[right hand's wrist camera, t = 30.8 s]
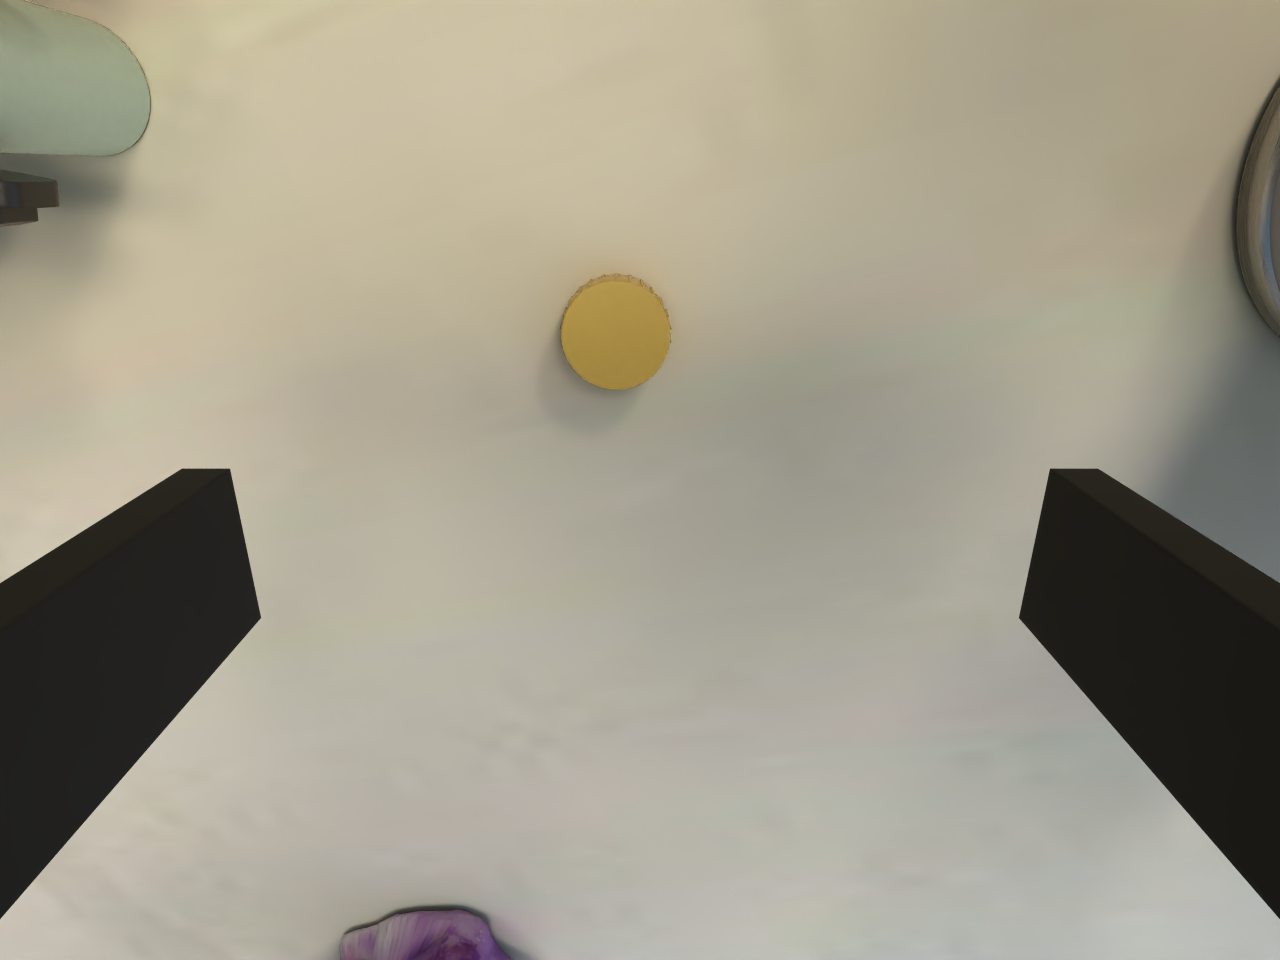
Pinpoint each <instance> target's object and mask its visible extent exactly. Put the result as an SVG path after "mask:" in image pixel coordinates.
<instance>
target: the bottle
mask: <svg viewBox="0 0 1280 960" xmlns="http://www.w3.org/2000/svg"><path fill="white" fill-rule="evenodd" d="M149 113H150V95H149V89H148V84H147V81H146V78H145V75H144V73H143V71H142V69H141V66H140V64H139V63H138V61H137V59H136V58H135V56H134V55H133V54H132V52H131V51H130V50H129V48H128V47H127V46H126V45H125V44H124V43H123V42H122V41H121V40H120V39H119V38H118V37H117V36H116V35H115V34H113V33H112V32H111V31H109V30H108V29H106V28H105V27H103V26H101V25H99V24H98V23H95V22H93V21H90V20H88V19H84V18H81V17H78V16H74V15H71V14H67V13H64V12H60V11H57V10H54V9H50V8H47V7H43V6H40V5H36V4H33V3H30V2H26V1H23V0H0V152H1V153H29V154H56V155H84V156H108V155H114V154H117V153H120V152H122V151H124V150H126V149H128V148H129V147H131V146H132V145H133V144H134V143H135V142H136V141H137V140H138V139H139V138H140V136H141V135H142V133H143V132H144V130H145V127H146V125H147V122H148V119H149Z"/></svg>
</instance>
